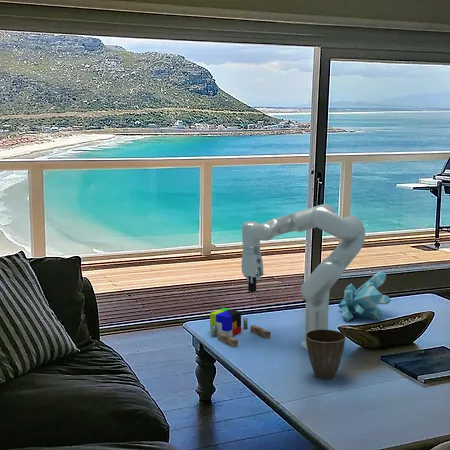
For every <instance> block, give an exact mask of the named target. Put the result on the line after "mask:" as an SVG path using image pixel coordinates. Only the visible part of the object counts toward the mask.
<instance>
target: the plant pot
mask: <svg viewBox="0 0 450 450" xmlns="http://www.w3.org/2000/svg"><path fill="white" fill-rule="evenodd" d="M306 343H307V349H308V350H307V354H308V359H309V362H310V365H311V368H312V370H313V373H314V376H315V377H316V378H317V379H320V380H327V381H328V380H332V379H334V378H335V377H336V376H337V372H338V370H339V367H340V364H341V361H342V357H343V353H344V350H345V343H346V334H344V333H343V332H341V331H337V330H334V329H328V330H313V331H310V332H308V333H306Z"/></svg>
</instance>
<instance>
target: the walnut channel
mask: <svg viewBox="0 0 450 450" xmlns="http://www.w3.org/2000/svg"><path fill="white" fill-rule="evenodd" d="M250 333H252V334H253V335H257V336H259V337H262V338H263V339H266V340H269V339H271V337H272V336H271V333H272V332H271V331H269V330H268V329H265V328H263V327H260V326H258V325H256V324H252V325H250ZM217 340H218V341H220V342H221V343H222V344H225V345H228V346H230V347H232V348H238V347H239V339H238V338H235V337H230V336H228V335H226V334H224V333H218V336H217Z"/></svg>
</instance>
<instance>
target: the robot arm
mask: <svg viewBox="0 0 450 450" xmlns="http://www.w3.org/2000/svg"><path fill="white" fill-rule="evenodd" d="M241 227H242V229H241V231H242V233H241V234H242V235H241V237H242V254H241V273H242V274H243V276H242V277H245V278H246V282H247V284H248V285H247V288H248V290H247V291H248V292H249V293H254V292H257V283H258V281H261V280H262V276H264V261H263V257H262V253H261V241H264V242H265V241H266V242H268V241H270V240H273V238H276V237H278V236H280V235H284V234H287V233H292V232H297V233H299V232H300V233H301V232H305V231H309V230H312V229H316V228H317V229H319V230H321V231H324V232H325V233H327V234H328V235H331V236H333V237H335V238H337V239H339V240H341V241H340V242H339V243H338V244H337V245H336V247H335V248H334V250H333V251H332V252H331V253H330V254H329V255H328V256H327V257H326V258H324V259H323V260H322V261H321V262H320V263H319V264H318V265H317V267H316V268H314V270H313V271H312V272H311V274H310V275H309V276H308V277H307V279H306V280H305V281H304V282H303V283H302V285H301V287H300V293H301V297H302V298H303V299H304V300H305V332H304V334H305V337H304V338H305V340H303V341H302V342H301V347H302V348H303V349H304V350H306V351H308V349H307V343H306V333H308V332H310V331H313V330H329V304H330V301H329V300H330V293H331V288H332V287H333V286H334V285H335V284H336V283H337V281H338V280H339V279H340V278H341V277H342V275H343V274H344V271H345V270H346V269H347V267H348V266H349V265H350V264H351V263H352V261H354V259H355V258H356V256H358V254H359V253H360V251H361V250H362V248H363V247H364V243H365V240H366V230H365V225H364V223H363V222H362V220H361V219H360V218H359V217H357V216H355V215H348V216H346V217H342V216H341V215H339V214H337V213H336V211H335V209H334V207H333V206H332V205H330V204H329V203H328V204H327V203H323V204H320V205H319V204H318V205H316V206H311V207H309V208H305V209H302V210H299V211H296V212H292V213H289V214H287V215H283V216H279V217H276V218H273V219H270V220H268V221H267V220H266V221H264V222H263V223H259V222H258V221H244V222H243V223H242V225H241Z"/></svg>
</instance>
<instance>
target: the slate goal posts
mask: <svg viewBox="0 0 450 450" xmlns="http://www.w3.org/2000/svg"><path fill="white" fill-rule="evenodd" d="M242 318H243V319H242V324H243V328H242V329H243V330H248V329H249V327H248V326H249V325H248V317H242ZM211 337H212V338H216V337H217V336H216V325H212V335H211Z"/></svg>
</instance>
